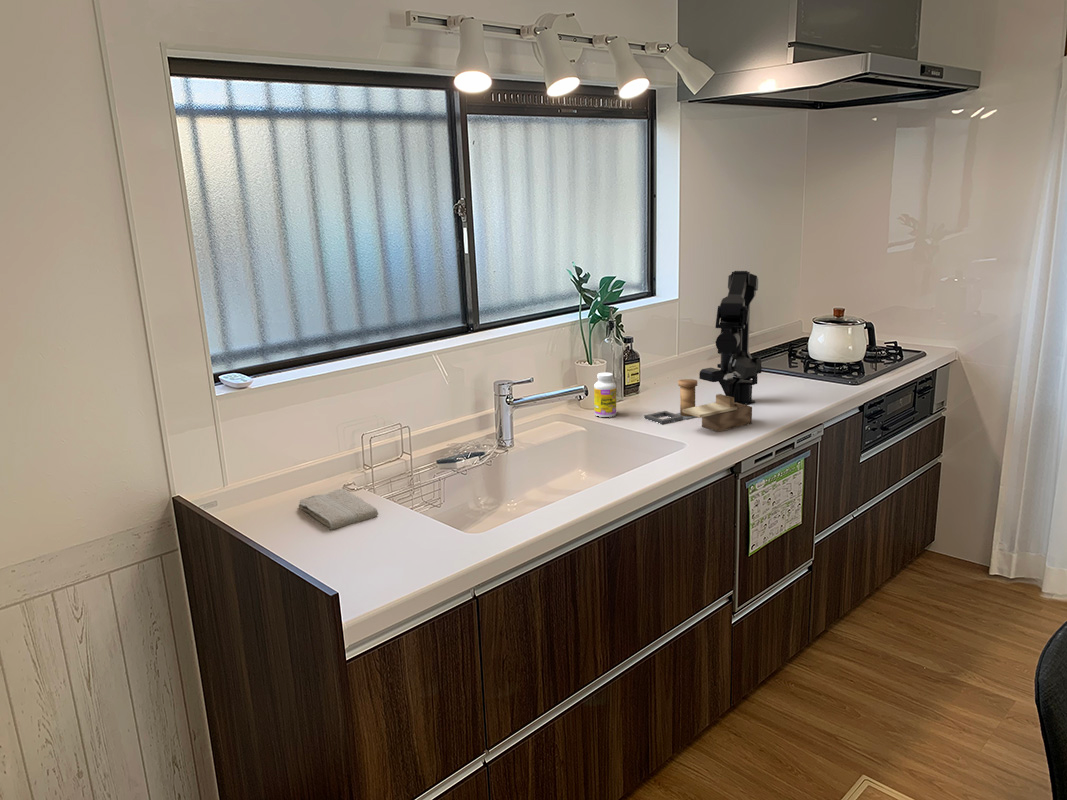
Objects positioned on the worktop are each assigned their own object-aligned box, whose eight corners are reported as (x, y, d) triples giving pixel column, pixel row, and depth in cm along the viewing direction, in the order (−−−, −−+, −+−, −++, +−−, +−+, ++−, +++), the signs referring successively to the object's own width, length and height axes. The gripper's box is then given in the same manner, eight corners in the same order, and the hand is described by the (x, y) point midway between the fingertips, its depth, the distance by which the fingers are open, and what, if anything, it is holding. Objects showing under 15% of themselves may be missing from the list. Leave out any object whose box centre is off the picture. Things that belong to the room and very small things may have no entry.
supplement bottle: (598, 419, 248) (598, 377, 244) (591, 413, 254) (590, 372, 251) (619, 416, 249) (619, 375, 246) (611, 411, 256) (611, 370, 252)
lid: (719, 404, 239) (719, 393, 238) (737, 409, 232) (737, 397, 232) (682, 412, 232) (682, 400, 231) (699, 417, 226) (699, 406, 225)
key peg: (688, 411, 252) (688, 378, 249) (701, 414, 247) (701, 381, 245) (674, 414, 249) (674, 381, 246) (687, 417, 244) (687, 383, 242)
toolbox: (735, 418, 243) (736, 402, 241) (751, 423, 237) (752, 406, 236) (701, 426, 236) (702, 409, 235) (717, 431, 231) (717, 414, 230)
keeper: (665, 413, 251) (665, 410, 250) (682, 419, 244) (682, 416, 244) (644, 418, 247) (644, 415, 246) (661, 424, 240) (661, 421, 240)
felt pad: (688, 411, 252) (688, 410, 252) (702, 416, 247) (702, 415, 247) (673, 415, 249) (673, 414, 249) (686, 419, 244) (686, 418, 244)
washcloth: (343, 496, 194) (341, 484, 193) (381, 518, 181) (379, 504, 180) (294, 510, 187) (293, 497, 186) (330, 533, 173) (329, 519, 173)
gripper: (726, 355, 220) (725, 412, 224) (777, 346, 229) (775, 401, 233) (698, 349, 230) (697, 403, 233) (747, 341, 239) (746, 393, 242)
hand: (730, 400), depth 235 cm, fingers closed
